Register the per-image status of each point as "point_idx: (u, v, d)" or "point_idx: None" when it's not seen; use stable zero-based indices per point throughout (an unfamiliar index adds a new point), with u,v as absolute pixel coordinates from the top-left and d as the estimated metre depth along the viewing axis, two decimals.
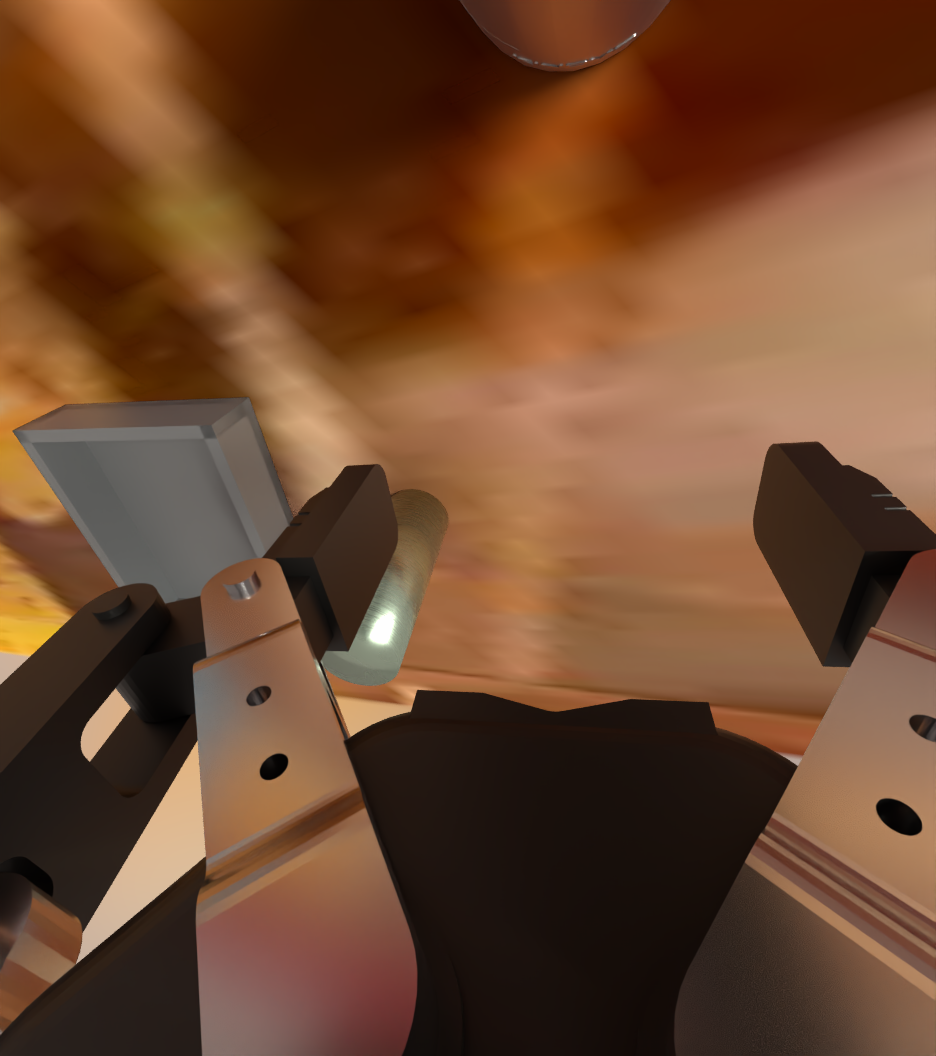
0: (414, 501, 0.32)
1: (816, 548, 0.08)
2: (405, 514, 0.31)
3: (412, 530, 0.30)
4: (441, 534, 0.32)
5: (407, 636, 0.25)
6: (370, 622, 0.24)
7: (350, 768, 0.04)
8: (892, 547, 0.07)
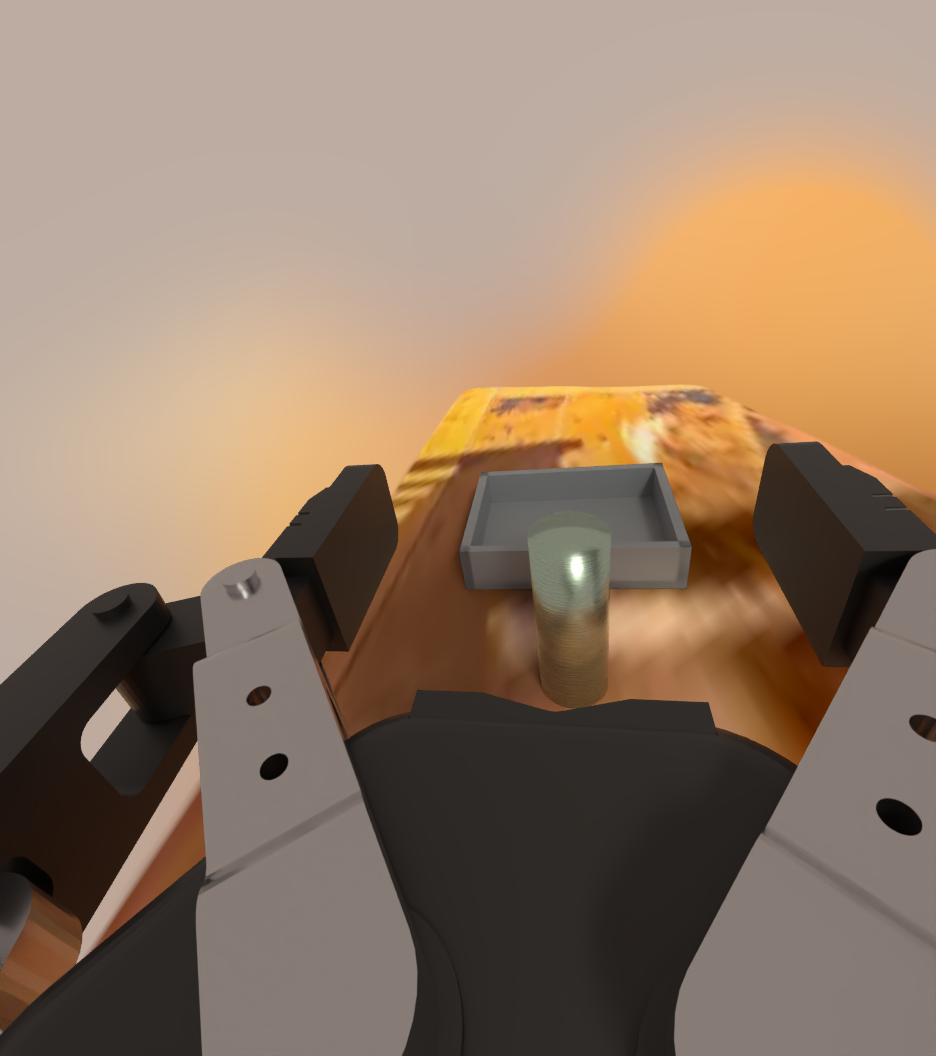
0: (607, 675, 0.32)
1: (816, 548, 0.08)
2: None
3: (604, 650, 0.30)
4: (575, 687, 0.31)
5: (568, 582, 0.26)
6: (606, 551, 0.26)
7: (350, 768, 0.04)
8: (892, 547, 0.07)
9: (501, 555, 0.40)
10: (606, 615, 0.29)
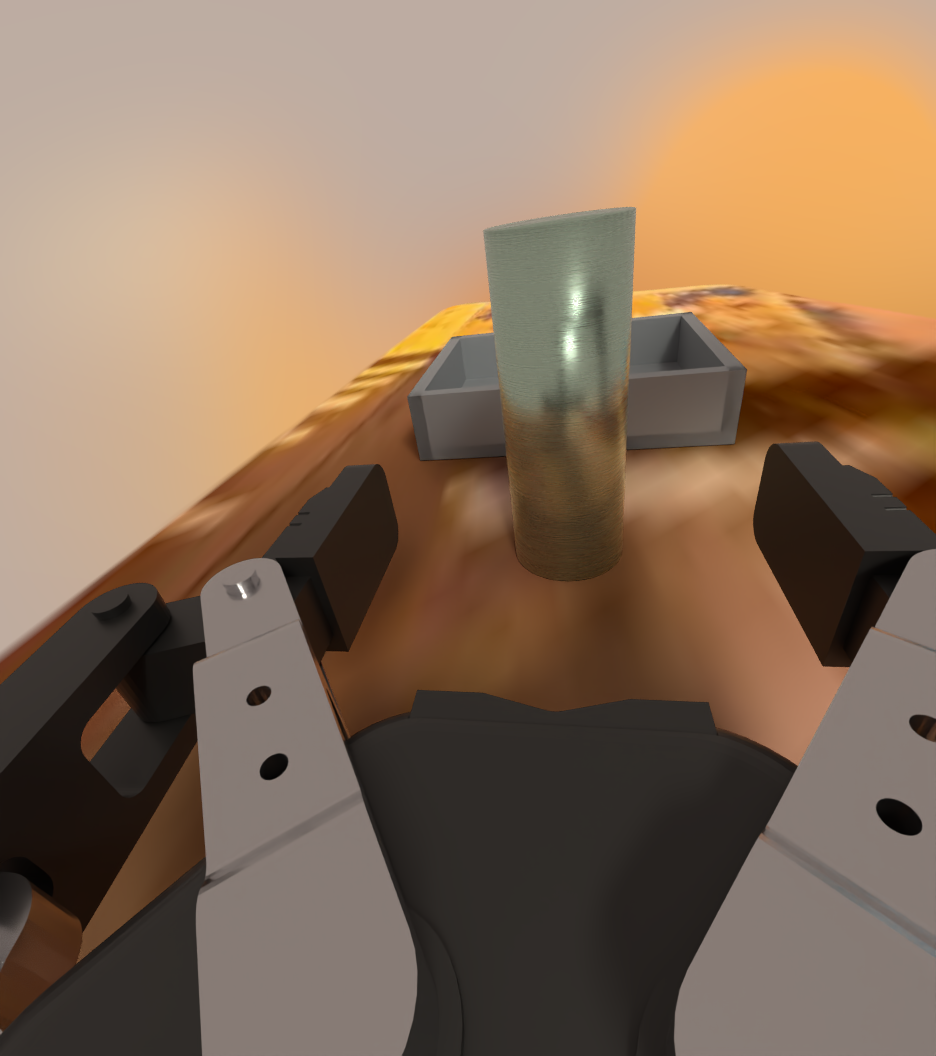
0: (622, 528, 0.20)
1: (816, 548, 0.08)
2: None
3: (619, 471, 0.18)
4: (569, 537, 0.18)
5: (555, 291, 0.14)
6: (628, 232, 0.14)
7: (350, 768, 0.04)
8: (892, 547, 0.07)
9: (467, 399, 0.28)
10: (624, 394, 0.16)
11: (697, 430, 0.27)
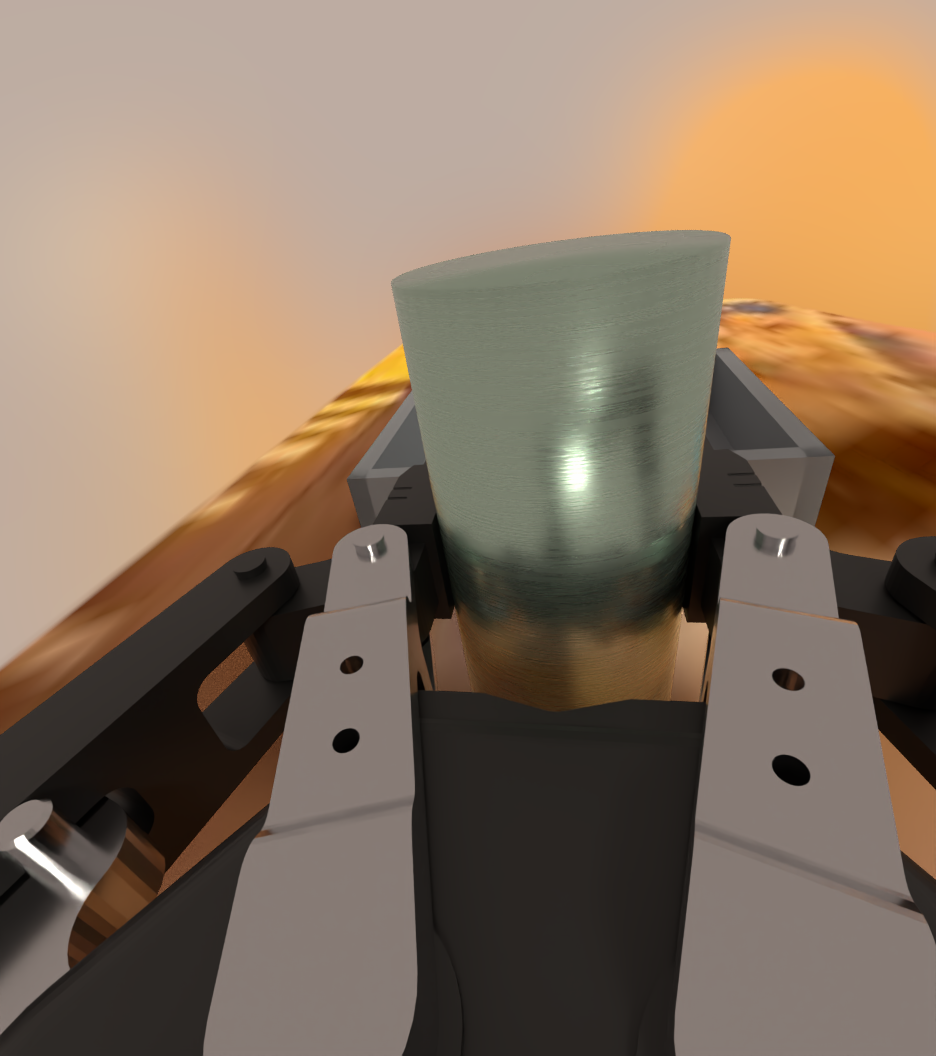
0: None
1: None
2: None
3: None
4: None
5: (545, 432, 0.06)
6: (717, 294, 0.06)
7: (350, 768, 0.04)
8: (725, 513, 0.08)
9: None
10: (681, 591, 0.08)
11: None
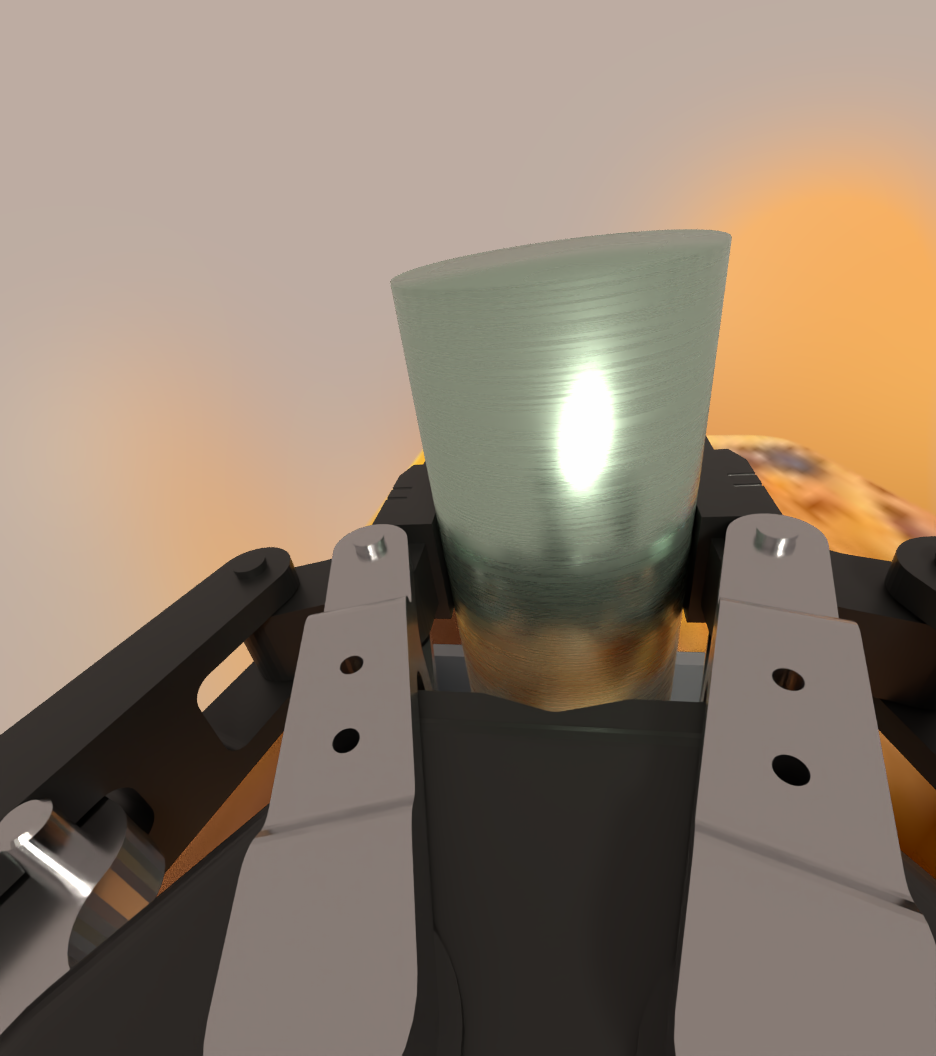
0: None
1: None
2: None
3: None
4: None
5: (545, 431, 0.06)
6: (718, 294, 0.06)
7: (350, 768, 0.04)
8: (725, 514, 0.08)
9: None
10: (681, 591, 0.08)
11: None
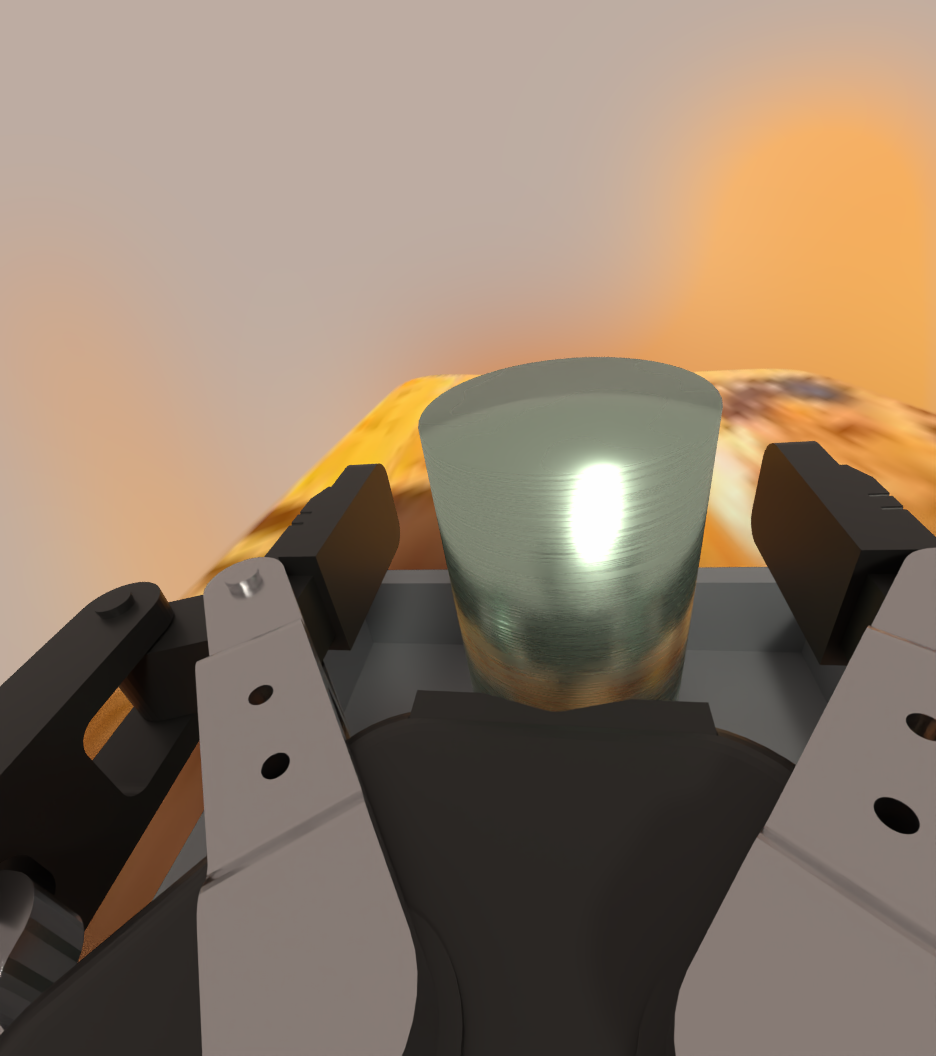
0: None
1: (813, 547, 0.08)
2: None
3: None
4: None
5: (559, 578, 0.07)
6: (711, 458, 0.07)
7: (350, 768, 0.04)
8: (888, 546, 0.07)
9: None
10: (679, 680, 0.09)
11: None
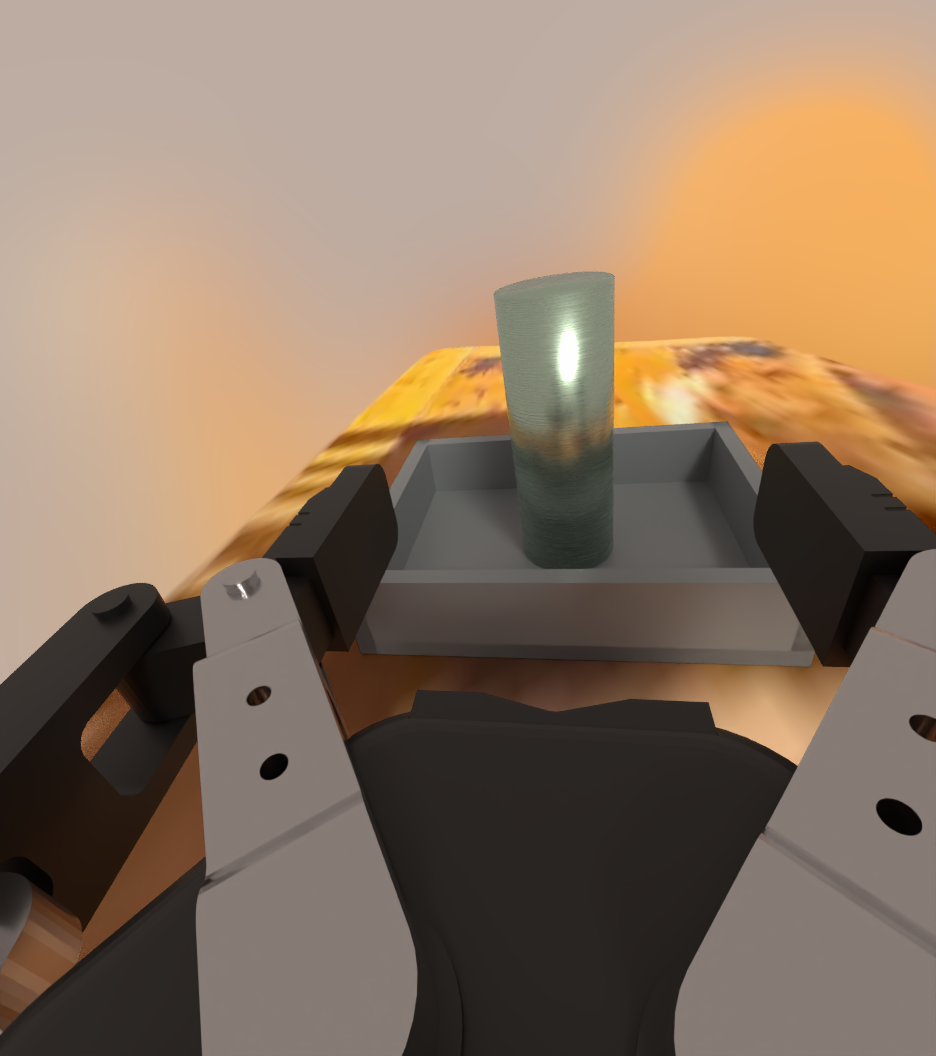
0: (612, 526, 0.24)
1: (816, 548, 0.08)
2: (613, 497, 0.23)
3: (609, 481, 0.22)
4: (570, 536, 0.22)
5: (554, 345, 0.18)
6: (609, 297, 0.18)
7: (350, 768, 0.04)
8: (892, 547, 0.07)
9: (422, 591, 0.19)
10: (610, 419, 0.20)
11: (756, 648, 0.18)
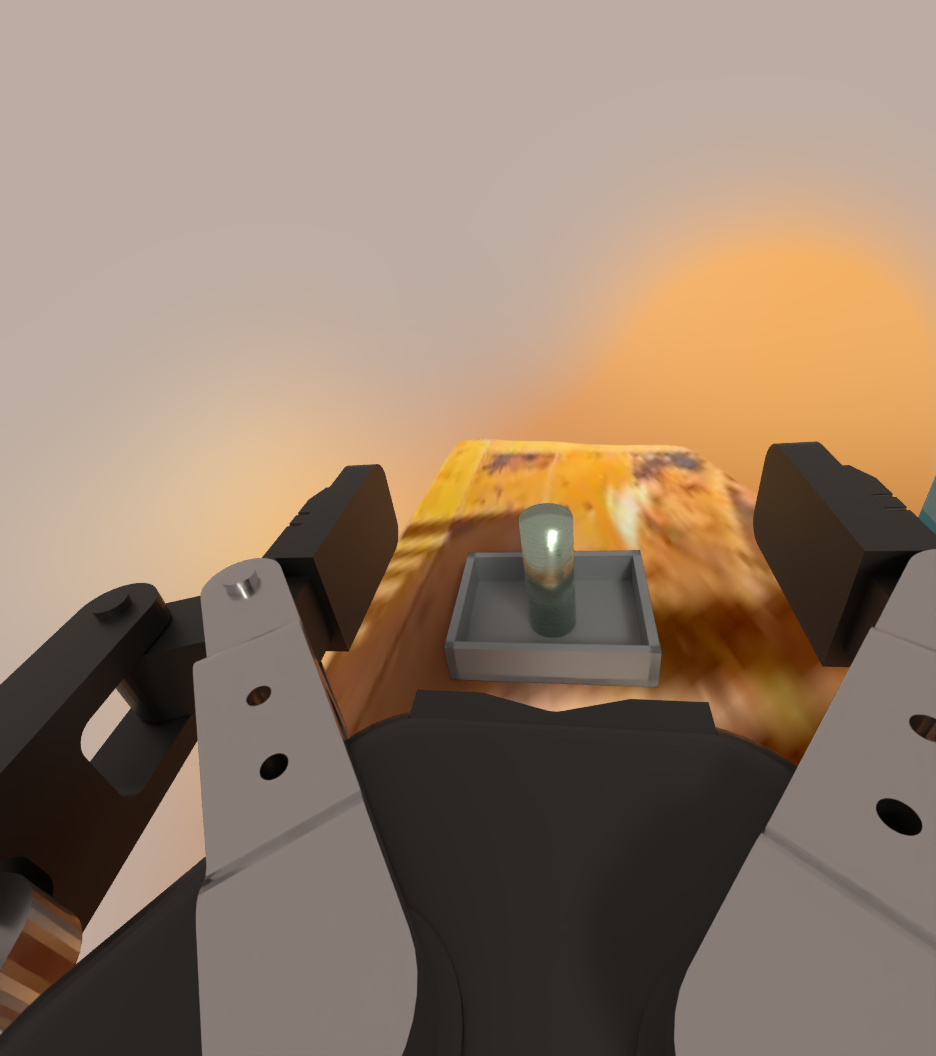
0: (575, 613, 0.47)
1: (816, 548, 0.08)
2: (575, 600, 0.46)
3: (573, 595, 0.45)
4: (555, 622, 0.45)
5: (547, 549, 0.41)
6: (570, 528, 0.41)
7: (350, 768, 0.04)
8: (892, 547, 0.07)
9: (484, 652, 0.43)
10: (572, 570, 0.43)
11: (633, 679, 0.41)
